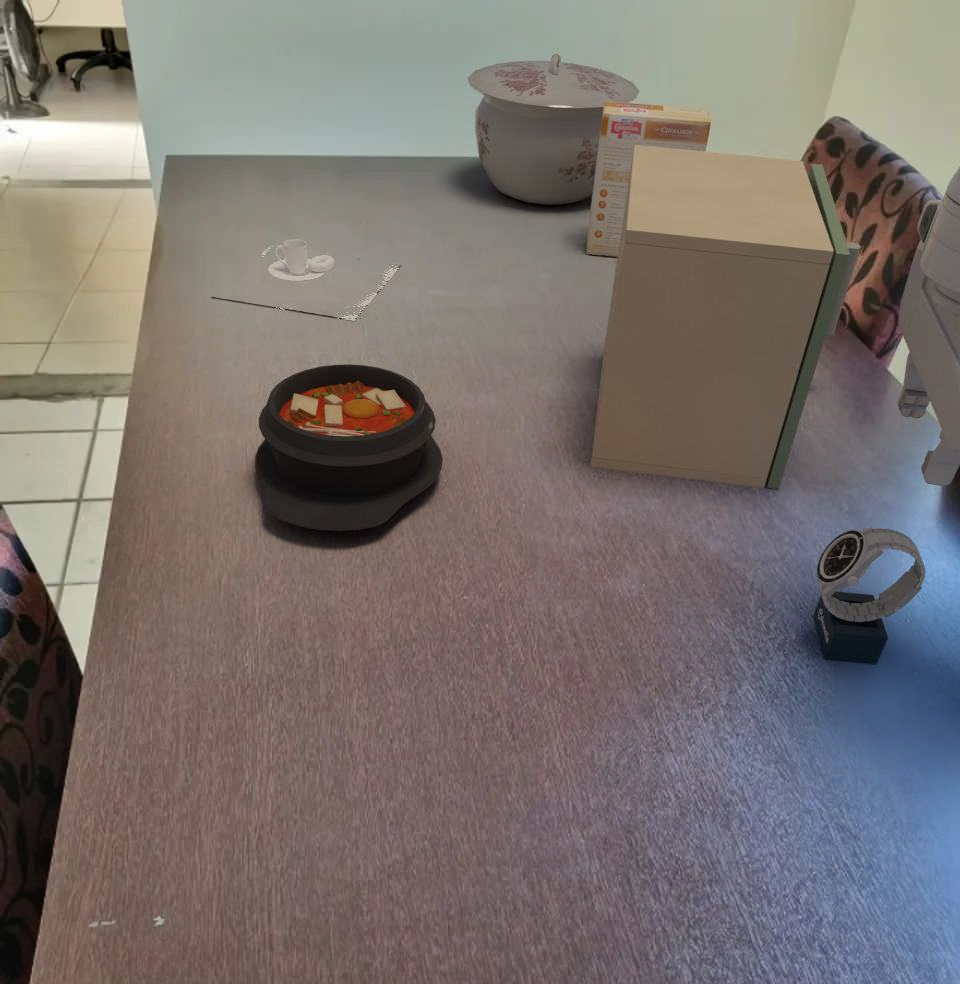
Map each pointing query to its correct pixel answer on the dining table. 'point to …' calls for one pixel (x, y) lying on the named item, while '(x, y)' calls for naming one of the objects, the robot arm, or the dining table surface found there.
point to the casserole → (345, 447)
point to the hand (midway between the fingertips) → (920, 444)
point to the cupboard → (708, 314)
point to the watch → (857, 617)
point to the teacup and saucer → (318, 266)
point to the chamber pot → (543, 126)
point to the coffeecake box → (615, 154)
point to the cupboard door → (817, 318)
